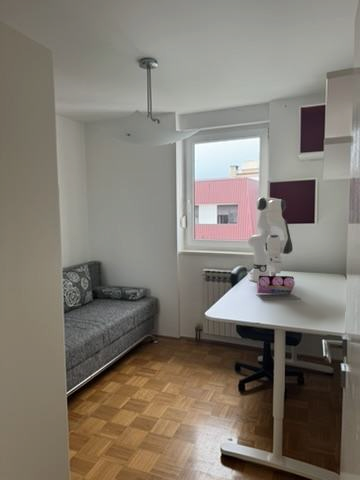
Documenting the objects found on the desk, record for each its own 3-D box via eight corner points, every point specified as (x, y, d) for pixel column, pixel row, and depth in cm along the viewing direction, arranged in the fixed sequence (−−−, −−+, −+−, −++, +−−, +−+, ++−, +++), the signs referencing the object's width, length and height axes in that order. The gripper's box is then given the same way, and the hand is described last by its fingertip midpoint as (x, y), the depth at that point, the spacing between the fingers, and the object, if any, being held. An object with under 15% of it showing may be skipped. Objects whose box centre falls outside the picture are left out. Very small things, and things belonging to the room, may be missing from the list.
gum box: (291, 284, 230) (295, 276, 219) (292, 294, 226) (296, 287, 215) (256, 282, 234) (258, 274, 222) (257, 293, 230) (259, 285, 218)
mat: (256, 294, 227) (256, 294, 227) (292, 294, 229) (292, 293, 229) (262, 300, 213) (262, 299, 213) (301, 299, 215) (301, 299, 215)
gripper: (264, 257, 235) (264, 276, 235) (273, 259, 215) (273, 280, 215) (273, 257, 235) (273, 276, 235) (283, 259, 215) (282, 280, 215)
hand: (273, 278), depth 225 cm, fingers closed, pressing on gum box
